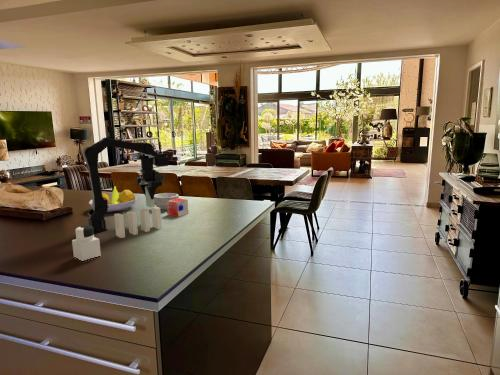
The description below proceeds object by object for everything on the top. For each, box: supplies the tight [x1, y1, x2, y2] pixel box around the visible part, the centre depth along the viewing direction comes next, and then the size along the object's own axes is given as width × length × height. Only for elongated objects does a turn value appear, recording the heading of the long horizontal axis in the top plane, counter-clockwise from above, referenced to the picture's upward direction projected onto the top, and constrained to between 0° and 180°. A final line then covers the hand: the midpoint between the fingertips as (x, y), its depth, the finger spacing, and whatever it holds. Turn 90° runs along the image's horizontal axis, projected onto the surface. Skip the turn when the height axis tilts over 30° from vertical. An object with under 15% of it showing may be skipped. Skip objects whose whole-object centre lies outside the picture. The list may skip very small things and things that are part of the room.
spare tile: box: [144, 186, 156, 208], centre depth 172 cm, size 2×5×10 cm, turn 44°
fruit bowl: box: [88, 185, 137, 213], centre depth 203 cm, size 28×27×11 cm
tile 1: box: [113, 213, 126, 239], centre depth 152 cm, size 2×5×10 cm, turn 44°
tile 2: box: [126, 210, 139, 236], centre depth 156 cm, size 2×5×10 cm, turn 44°
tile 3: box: [139, 208, 151, 233], centre depth 160 cm, size 2×5×10 cm, turn 44°
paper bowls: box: [154, 192, 180, 211], centre depth 203 cm, size 15×15×8 cm
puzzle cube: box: [166, 198, 189, 218], centre depth 188 cm, size 8×8×8 cm
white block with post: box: [71, 224, 102, 262], centre depth 128 cm, size 7×7×12 cm
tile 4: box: [150, 205, 163, 230], centre depth 164 cm, size 2×5×10 cm, turn 44°
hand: (149, 198), depth 173 cm, fingers closed on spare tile, 5 cm apart
